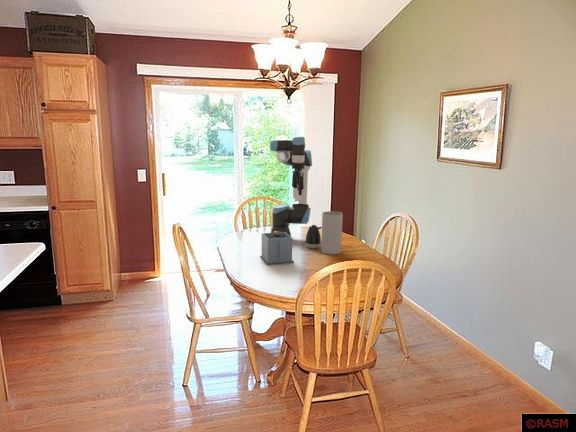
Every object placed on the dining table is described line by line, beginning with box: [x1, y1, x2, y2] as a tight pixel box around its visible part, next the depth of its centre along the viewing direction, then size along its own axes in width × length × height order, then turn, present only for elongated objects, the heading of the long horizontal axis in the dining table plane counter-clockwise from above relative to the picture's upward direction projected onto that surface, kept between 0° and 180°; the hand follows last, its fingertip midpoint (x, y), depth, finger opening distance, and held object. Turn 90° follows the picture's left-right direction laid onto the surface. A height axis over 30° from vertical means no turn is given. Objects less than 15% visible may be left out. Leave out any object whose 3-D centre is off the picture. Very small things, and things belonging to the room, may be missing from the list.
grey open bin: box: [259, 232, 294, 266], centre depth 240 cm, size 18×16×15 cm
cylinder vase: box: [320, 210, 343, 256], centre depth 257 cm, size 12×12×25 cm
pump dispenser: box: [305, 224, 322, 249], centre depth 268 cm, size 10×10×15 cm
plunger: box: [273, 231, 280, 238], centre depth 240 cm, size 12×12×13 cm
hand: (297, 199), depth 256 cm, fingers open, 8 cm apart
